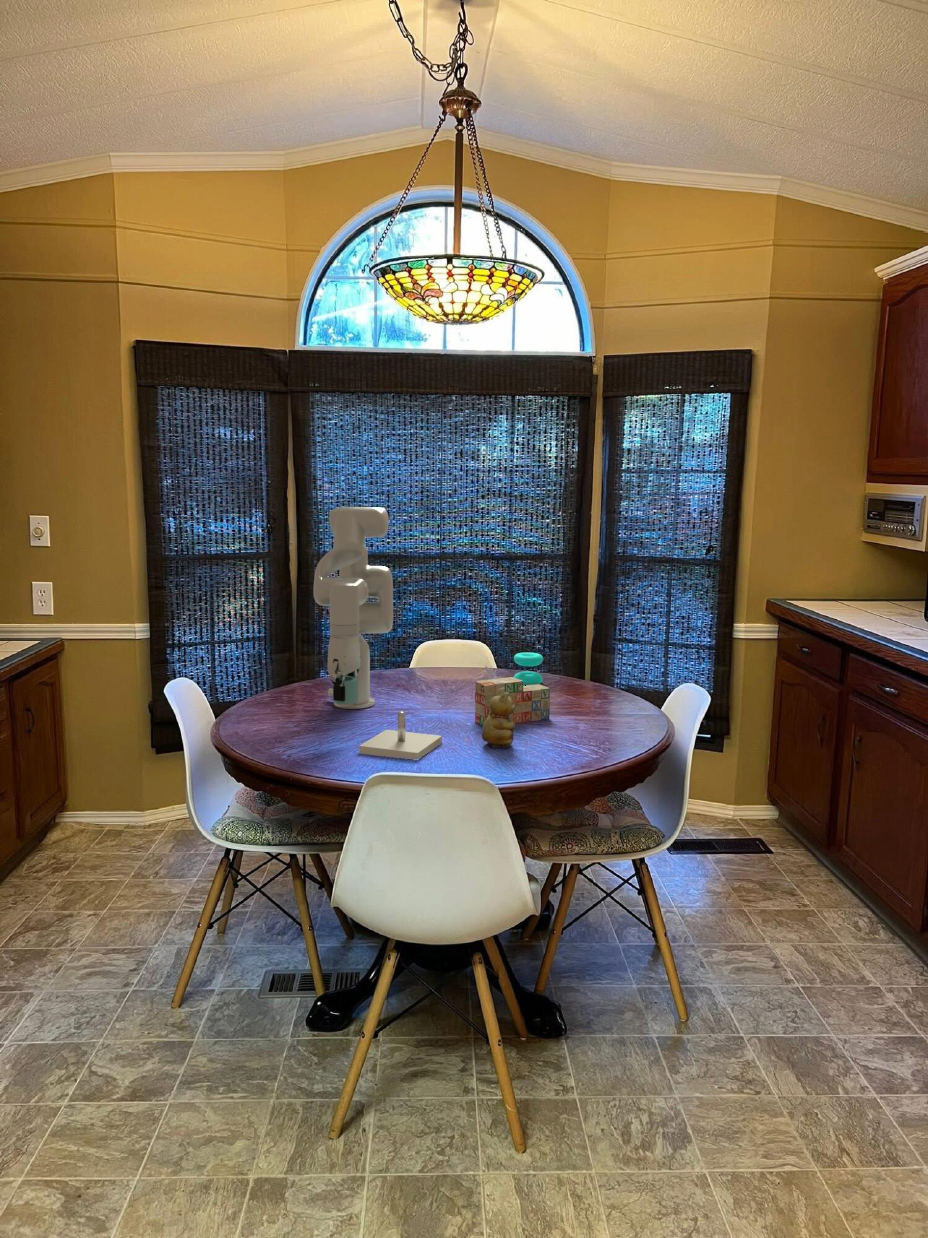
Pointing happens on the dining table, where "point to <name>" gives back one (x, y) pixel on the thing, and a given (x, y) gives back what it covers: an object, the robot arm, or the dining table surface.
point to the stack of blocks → (513, 699)
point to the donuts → (528, 660)
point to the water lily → (492, 673)
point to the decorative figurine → (499, 721)
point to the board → (400, 742)
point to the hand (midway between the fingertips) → (345, 696)
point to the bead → (350, 690)
